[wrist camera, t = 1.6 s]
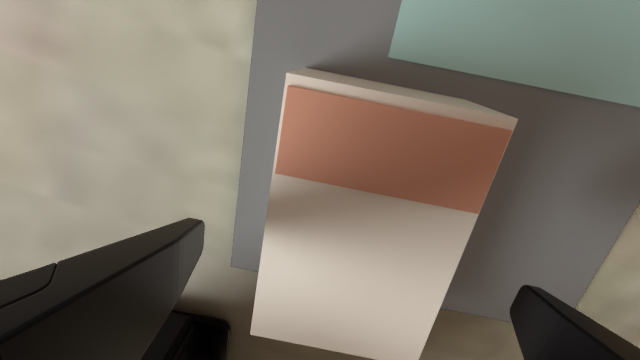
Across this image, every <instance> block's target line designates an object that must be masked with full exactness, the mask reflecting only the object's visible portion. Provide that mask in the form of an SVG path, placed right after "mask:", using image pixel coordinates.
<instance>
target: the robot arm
mask: <svg viewBox="0 0 640 360" xmlns="http://www.w3.org/2000/svg"><path fill="white" fill-rule="evenodd" d="M204 228H205V225H204V222H203V221H202V220H198V219H193V218H187V219H184V220H181V221H178V222H175V223H172V224H169V225H166V226H163V227H160V228H157V229H154V230H151V231H148V232H145V233H142V234H139V235H136V236H133V237H130V238H127V239H124V240H121V241H118V242H115V243H112V244H109V245H106V246H103V247H100V248H98V249H95V250H92V251H89V252H86V253H83V254H80V255H77V256H74V257H71V258H68V259H65V260H62V261H59V262H58V263H57V264H56V263H52V264H50V265H47V266H44V267H41V268H38V269H35V270H32V271H28V272H25V273H22V274H19V275H16V276H13V277H10V278H7V279H3V280H0V360H227V358H228V349H229V340H230V331H231V328H230V325H229V323H227V322H226V321H223V320H220V319H214V318H209V317H204V316H199V315H194V314H189V313H184V312H179V311H174V310H173V308H174V306H175V305H176V303H177V301H178V300H179V298H180V296H181V294H182V292H183V290H184V288H185V286H186V284H187V282H188V280H189V278H190V276H191V274H192V272H193V270H194V268H195V266H196V264H197V262H198V260H199V258H200V256H201V253H202V250H203V244H204ZM510 318H511V321H512V324H513V327H514V330H515V333H516V336H517V339H518V342H519V345H520V348H521V351H522V354H523V357H524V360H640V349H639V348H638V347H636V346H635V345H633V344H631V343H630V342H628V341H626V340H625V339H623V338H622V337H620V336H618V335H617V334H615V333H613V332H612V331H610V330H608V329H607V328H605V327H604V326H602V325H600V324H599V323H597V322H595V321H594V320H592V319H591V318H589V317H587V316H586V315H584V314H582V313H581V312H579V311H578V310H576V309H574V308H573V307H571V306H569V305H568V304H566V303H565V302H563V301H561V300H560V299H558V298H556V297H555V296H553V295H552V294H550V293H548V292H547V291H545V290H543V289H542V288H540V287H536V286H531V285H523V286H522V287H520V289H519V291H518V293H517V295H516V297H515V299H514V301H513V303H512V305H511V307H510ZM221 330H222V331H221Z"/></svg>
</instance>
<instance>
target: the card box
mask: <svg viewBox="0 0 640 360" xmlns="http://www.w3.org/2000/svg"><path fill="white" fill-rule="evenodd" d="M517 121H518V119H517V118H514V117H512V116H509V115H506V114H503V113H501V112H498V111H495V110H492V109H490V108H487V107H484V106H481V105H479V104H476V103H473V102H470V101H467V100H465V99H460V98H455V97H450V96H445V95H440V94H435V93H430V92H425V91H420V90H415V89H410V88H405V87H400V86H395V85H390V84H385V83H380V82H375V81H370V80H365V79H360V78H355V77H350V76H345V75H340V74H335V73H330V72H325V71H320V70H315V69H310V68H305V67H304V68H301V69H297V70H294V71H290V72H287V73H286V79H285V86H284V93H283V100H282V108H281V115H280V122H279V129H278V136H277V144H276V151H275V158H274V165H273V172H272V179H271V187H270V194H269V201H268V208H267V215H266V223H265V230H264V237H263V244H262V251H261V259H260V266H259V273H258V280H257V287H256V294H255V302H254V309H253V316H252V323H251V330H250V335H255V336H260V337H265V338H270V339H275V340H280V341H285V342H290V343H295V344H300V345H305V346H310V347H315V348H320V349H325V350H330V351H335V352H340V353H345V354H350V355H355V356H360V357H365V358H370V359H375V360H419V358H420V355H421V353H422V350H423V348H424V346H425V343H426V341H427V338H428V336H429V333H430V331H431V329H432V326H433V324H434V321H435V319H436V317H437V314H438V312H439V309H440V307H441V304H442V302H443V300H444V297H445V295H446V292H447V290H448V288H449V285H450V283H451V280H452V278H453V276H454V273H455V271H456V268H457V266H458V263H459V261H460V259H461V256H462V254H463V251H464V249H465V247H466V244H467V242H468V239H469V237H470V235H471V232H472V230H473V227H474V225H475V222H476V220H477V218H478V215H479V213H480V210H481V208H482V206H483V203H484V201H485V198H486V196H487V193H488V191H489V189H490V186H491V184H492V181H493V179H494V177H495V174H496V172H497V169H498V167H499V165H500V162H501V160H502V157H503V155H504V152H505V150H506V148H507V145H508V143H509V140H510V138H511V136H512V133H513V131H514V128H515V126H516V124H517Z"/></svg>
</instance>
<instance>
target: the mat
mask: <svg viewBox="0 0 640 360" xmlns="http://www.w3.org/2000/svg"><path fill="white" fill-rule="evenodd" d="M304 67H305V68H310V69H315V70H320V71H325V72H330V73H335V74H340V75H345V76H350V77H355V78H360V79H365V80H370V81H375V82H380V83H385V84H390V85H395V86H400V87H405V88H410V89H415V90H420V91H425V92H430V93H435V94H440V95H445V96H450V97H455V98H460V99H465V100H467V101H470V102H473V103H476V104H479V105H481V106H484V107H487V108H490V109H492V110H495V111H498V112H501V113H503V114H506V115H509V116H512V117H514V118H517V119H518V121H517V124H516V126H515V128H514V131H513V133H512V136H511V138H510V140H509V143H508V145H507V148H506V150H505V152H504V155H503V157H502V160H501V162H500V165H499V167H498V169H497V172H496V174H495V177H494V179H493V181H492V184H491V186H490V189H489V191H488V193H487V196H486V198H485V201H484V203H483V206H482V208H481V210H480V213H479V215H478V218H477V220H476V222H475V225H474V227H473V230H472V232H471V235H470V237H469V239H468V242H467V244H466V247H465V249H464V251H463V254H462V256H461V259H460V261H459V263H458V266H457V268H456V271H455V273H454V276H453V278H452V280H451V283H450V285H449V288H448V290H447V292H446V295H445V297H444V300H443V302H442V304H441V307H440V308H441V309H446V310H451V311H456V312H461V313H466V314H471V315H476V316H481V317H486V318H491V319H496V320H501V321H506V322H511V323H512V321H511V318H510V307H511V305H512V303H513V301H514V299H515V297H516V295H517V293H518V291H519V289H520V287H522V286H523V285H531V286H536V287H540V288H542V289H543V290H545V291H547V292H548V293H550V294H552V295H553V296H555V297H556V298H558V299H560V300H561V301H563V302H565V303H566V304H568V305H569V306H571V307H573V308H575V306H576V305H577V303H578V301H579V300H580V298H581V297H582V295H583V293H584V292H585V290H586V288H587V287H588V285H589V283H590V282H591V280H592V279H593V277H594V275H595V274H596V272H597V270H598V269H599V267H600V266H601V264H602V262H603V261H604V259H605V257H606V256H607V254H608V252H609V251H610V249H611V248H612V246H613V244H614V243H615V241H616V239H617V238H618V236H619V235H620V233H621V231H622V230H623V228H624V226H625V225H626V223H627V221H628V220H629V218H630V217H631V215H632V213H633V212H634V210H635V208H636V207H637V205H638V204H639V202H640V0H257V6H256V16H255V26H254V36H253V46H252V57H251V67H250V77H249V87H248V97H247V107H246V117H245V127H244V137H243V147H242V157H241V168H240V178H239V188H238V198H237V208H236V218H235V228H234V238H233V248H232V258H231V267H235V268H240V269H245V270H251V271H256V272H259V266H260V259H261V251H262V244H263V237H264V230H265V223H266V215H267V208H268V201H269V194H270V187H271V179H272V172H273V165H274V158H275V151H276V144H277V136H278V129H279V122H280V115H281V108H282V100H283V93H284V86H285V79H286V73H287V72H290V71H294V70H297V69H301V68H304Z"/></svg>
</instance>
